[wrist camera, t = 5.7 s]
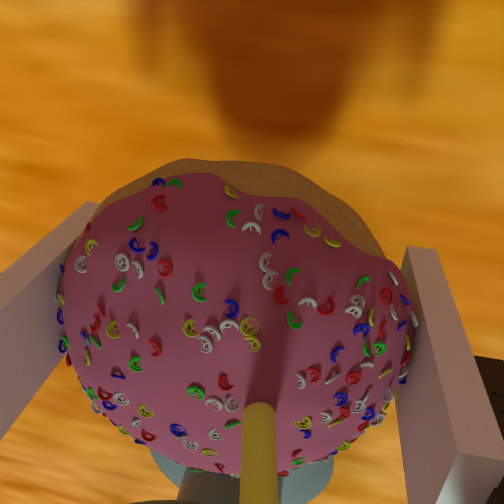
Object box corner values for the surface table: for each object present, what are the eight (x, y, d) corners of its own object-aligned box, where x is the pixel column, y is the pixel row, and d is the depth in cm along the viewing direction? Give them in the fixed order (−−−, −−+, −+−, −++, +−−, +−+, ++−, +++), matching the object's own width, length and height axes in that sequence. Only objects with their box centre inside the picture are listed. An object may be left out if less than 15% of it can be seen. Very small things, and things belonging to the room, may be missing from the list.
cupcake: (415, 123, 13) (702, 680, 3) (373, 360, 17) (416, 935, 7) (117, 108, 14) (-506, 441, 4) (146, 333, 18) (-113, 783, 8)
